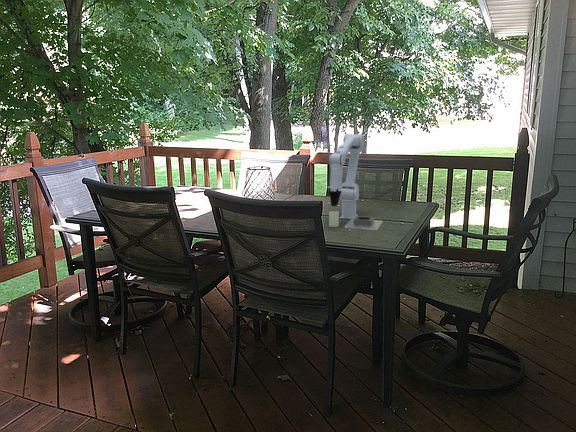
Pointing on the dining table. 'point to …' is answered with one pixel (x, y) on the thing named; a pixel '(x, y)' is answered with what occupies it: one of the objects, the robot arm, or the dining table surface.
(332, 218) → the plug
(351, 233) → the dining table surface
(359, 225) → the socket
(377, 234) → the dining table surface
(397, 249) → the dining table surface
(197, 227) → the dining table surface
